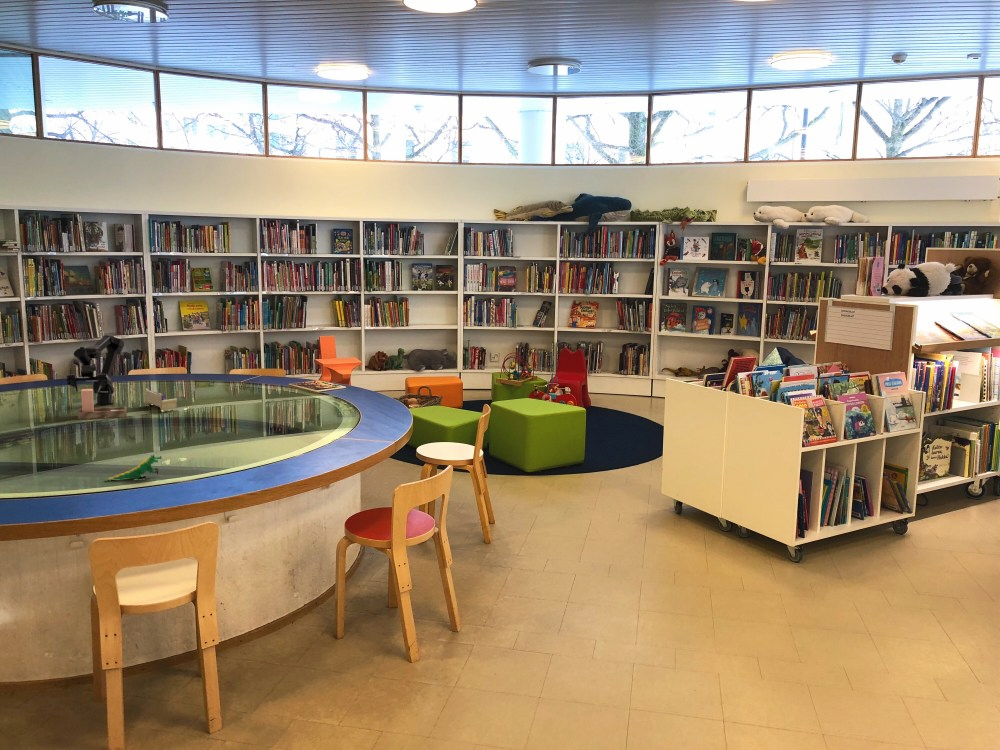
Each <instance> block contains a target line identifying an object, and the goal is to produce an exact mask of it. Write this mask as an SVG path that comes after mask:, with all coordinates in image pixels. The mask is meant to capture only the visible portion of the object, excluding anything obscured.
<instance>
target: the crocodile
mask: <svg viewBox="0 0 1000 750" xmlns="http://www.w3.org/2000/svg"><path fill="white" fill-rule="evenodd" d="M159 461H162V456H161V455H160V456H159V455H158V456H155V454H152V455H150V456H149V457H146V459H145V460H142V461H141V462H140V464H138V465H137V466H136V467H133V469H129V470H128V471H124V473H118V475H113V476H112V477H108V478H105V479H104V482H105V481H106V479H109V480H110V479H121V480H125V479H124V478H126V479H127V478H128V479H129V478H130V479H134V478H135V479H136V478H137V479H138V478H140V477H141V475H145V473H147V472H148V473H149V474H156V475H159V467H155V468H154V467H153V466H152V464H154V463H159ZM132 477H133V478H132ZM106 482H107V481H106Z"/></svg>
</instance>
